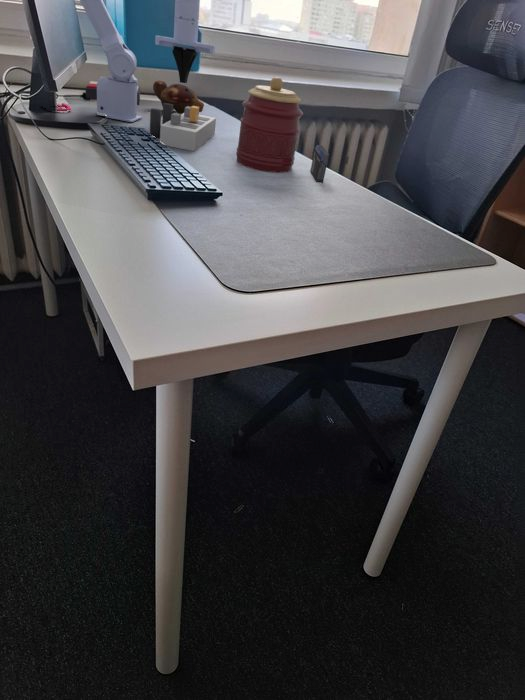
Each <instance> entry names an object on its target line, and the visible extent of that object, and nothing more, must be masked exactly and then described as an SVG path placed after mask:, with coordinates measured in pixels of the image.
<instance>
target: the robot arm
mask: <svg viewBox="0 0 525 700" xmlns="http://www.w3.org/2000/svg"><path fill="white" fill-rule="evenodd" d="M79 1H80V3H81V5H82V7H83V9H84V11H85V13H86V15H87V17H88V19H89V21H90V23H91V25H92V27H93V29H94V31H95V32H96V35H97V36H98V39H99V40H100V43H101V46H102V50H103V52H104V54H105V56H106V60H107V67H108V71H109V72H110V73H108V74H107V75H106V76H100V77H99V78H98V80H97V82H98V83H97V99H96V113H97V112H99V113H105V114H106V115H107V117H106V118H107V119H113V120H119V121H124V122H128V123H134V122H136V121H139V120H141V119H143V116H142V115H137V114H138V105H137V86H138V78H136V76H135V74H134V73H135V71H136V69H137V65H138V61H137V57H136V55H135V53H134V52H133V51H132V50H131V49H129V47H128V46H127V45H126V43H125V41H124V39H123V38H122V36H121V34H120V33H119V31H118V29H117V26H116V25H115V23H114V21H113V19H112V17H111V14H110V13H109V11H108V9H107V7H106V4H105V2H104V0H79ZM200 3H201V0H175V1H174V24H173V25H174V26H173V37H169V36H165V35H164V36H162V35H155V37H154V38H155V39H154V40H155V41H154V44H155V46H156V45H157V46H162V47H169V48H173V49H172V55H173V58H174V60H175V63H176V67H177V71H178V77H179V83H180V84H181V83H183V84H187V83H188V79H189V75H190V71H191V68H192V66H193V63H194V61H195V60H196V58H197V56H198V53H203V54H209V55H215V53H216V45H214V44H209V43H205V42H199V41H198V38H199V20H200V18H199V17H200ZM187 46H189V47H187Z"/></svg>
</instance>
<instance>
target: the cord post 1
mask: <svg viewBox="0 0 525 700" xmlns="http://www.w3.org/2000/svg"><path fill="white" fill-rule="evenodd" d="M149 117H150V118H149V135H150V134H151V135H153V136H155V137H156V138H158V139H159V140H160V128H161V125H162V109H159V108H153V107H152V108H150V115H149ZM156 138H155V139H156Z"/></svg>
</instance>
